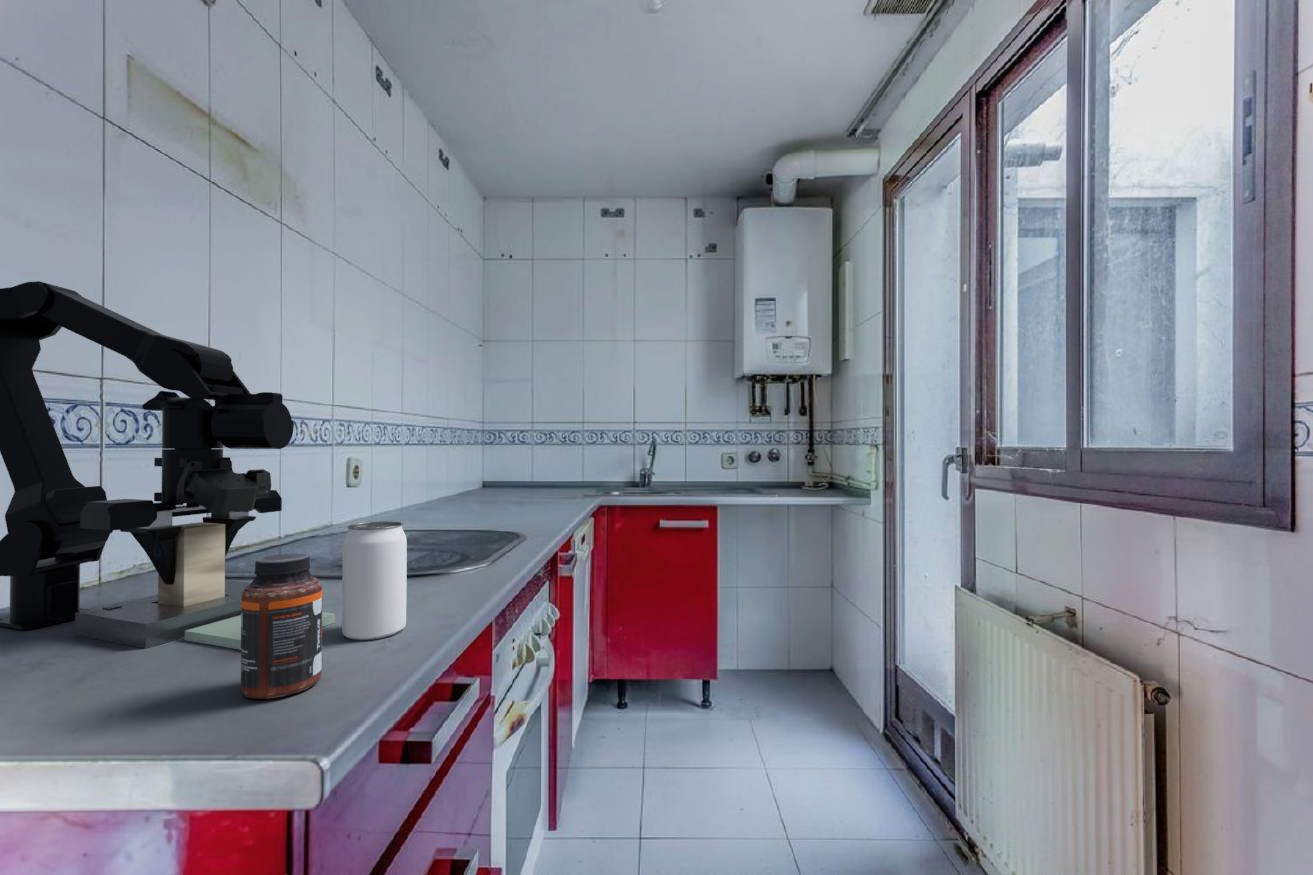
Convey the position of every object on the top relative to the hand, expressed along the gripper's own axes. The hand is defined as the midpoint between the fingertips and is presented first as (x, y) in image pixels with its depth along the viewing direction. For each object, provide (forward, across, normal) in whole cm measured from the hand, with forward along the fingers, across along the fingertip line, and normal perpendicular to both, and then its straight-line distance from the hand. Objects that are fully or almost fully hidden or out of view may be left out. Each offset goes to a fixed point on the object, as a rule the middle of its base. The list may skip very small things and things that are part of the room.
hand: (192, 579), depth 69 cm
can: (+5, +4, -24) cm, 25 cm away
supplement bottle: (+5, -10, -28) cm, 30 cm away
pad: (+5, 0, -12) cm, 13 cm away
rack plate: (+5, 0, 0) cm, 5 cm away
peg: (+4, 0, 0) cm, 4 cm away
